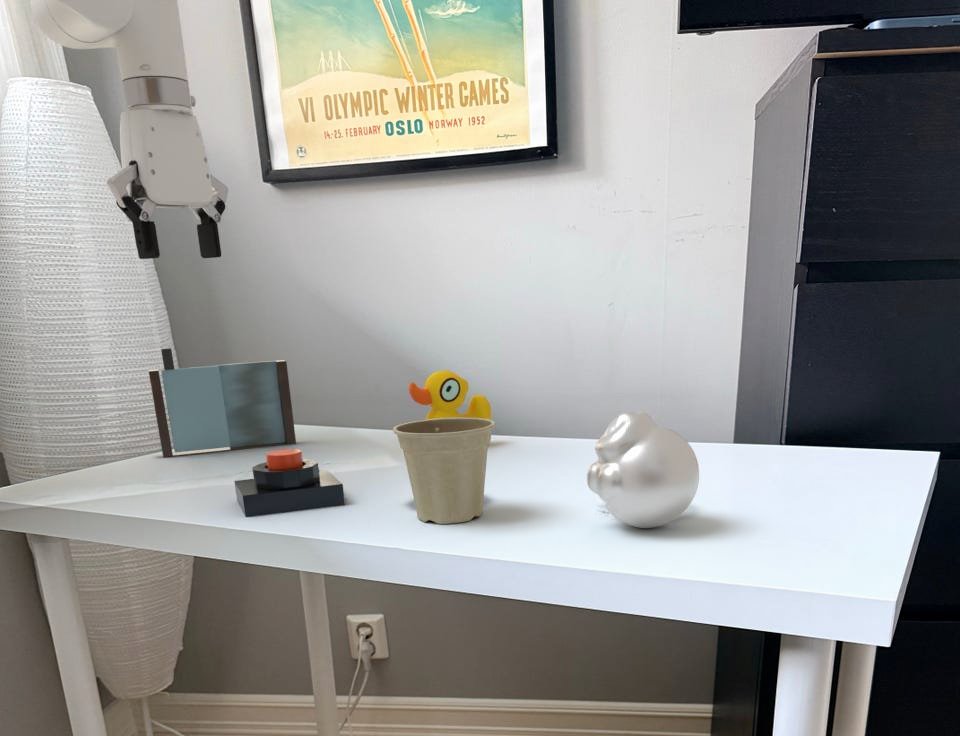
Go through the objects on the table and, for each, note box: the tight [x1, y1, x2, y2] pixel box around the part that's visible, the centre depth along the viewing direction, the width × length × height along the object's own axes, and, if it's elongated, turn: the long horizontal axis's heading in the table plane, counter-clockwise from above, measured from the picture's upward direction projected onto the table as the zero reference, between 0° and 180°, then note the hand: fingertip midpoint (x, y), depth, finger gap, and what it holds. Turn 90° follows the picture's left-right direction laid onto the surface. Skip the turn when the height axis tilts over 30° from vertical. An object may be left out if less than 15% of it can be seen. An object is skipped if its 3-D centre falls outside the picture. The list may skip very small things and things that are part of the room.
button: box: [265, 448, 303, 469], centre depth 95 cm, size 4×4×2 cm
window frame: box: [148, 359, 297, 459], centre depth 120 cm, size 17×2×12 cm, turn 110°
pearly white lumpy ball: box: [586, 411, 700, 529], centre depth 80 cm, size 9×10×10 cm
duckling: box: [408, 369, 492, 420], centre depth 121 cm, size 11×5×10 cm, turn 119°
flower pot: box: [392, 418, 496, 525], centre depth 87 cm, size 9×9×9 cm
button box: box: [233, 458, 346, 518], centre depth 96 cm, size 10×8×4 cm
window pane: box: [160, 347, 230, 453], centre depth 118 cm, size 7×1×13 cm, turn 110°
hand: (181, 258), depth 115 cm, fingers open, 9 cm apart
